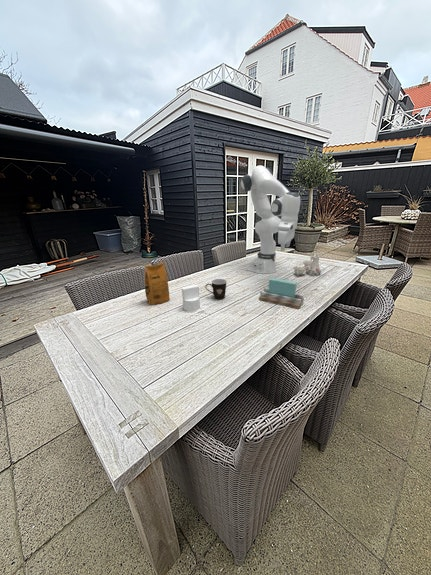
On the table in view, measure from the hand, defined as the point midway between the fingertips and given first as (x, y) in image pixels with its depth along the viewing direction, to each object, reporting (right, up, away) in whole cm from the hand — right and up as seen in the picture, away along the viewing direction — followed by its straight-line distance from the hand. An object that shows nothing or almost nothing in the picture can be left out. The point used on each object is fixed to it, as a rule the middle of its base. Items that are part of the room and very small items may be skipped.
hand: (285, 248), depth 131 cm
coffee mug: (-39, -28, +3) cm, 48 cm away
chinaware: (+29, -12, +39) cm, 50 cm away
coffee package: (-73, -30, +1) cm, 79 cm away
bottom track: (-4, -30, -4) cm, 30 cm away
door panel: (-4, -28, -4) cm, 29 cm away
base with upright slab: (-53, -33, -8) cm, 63 cm away
